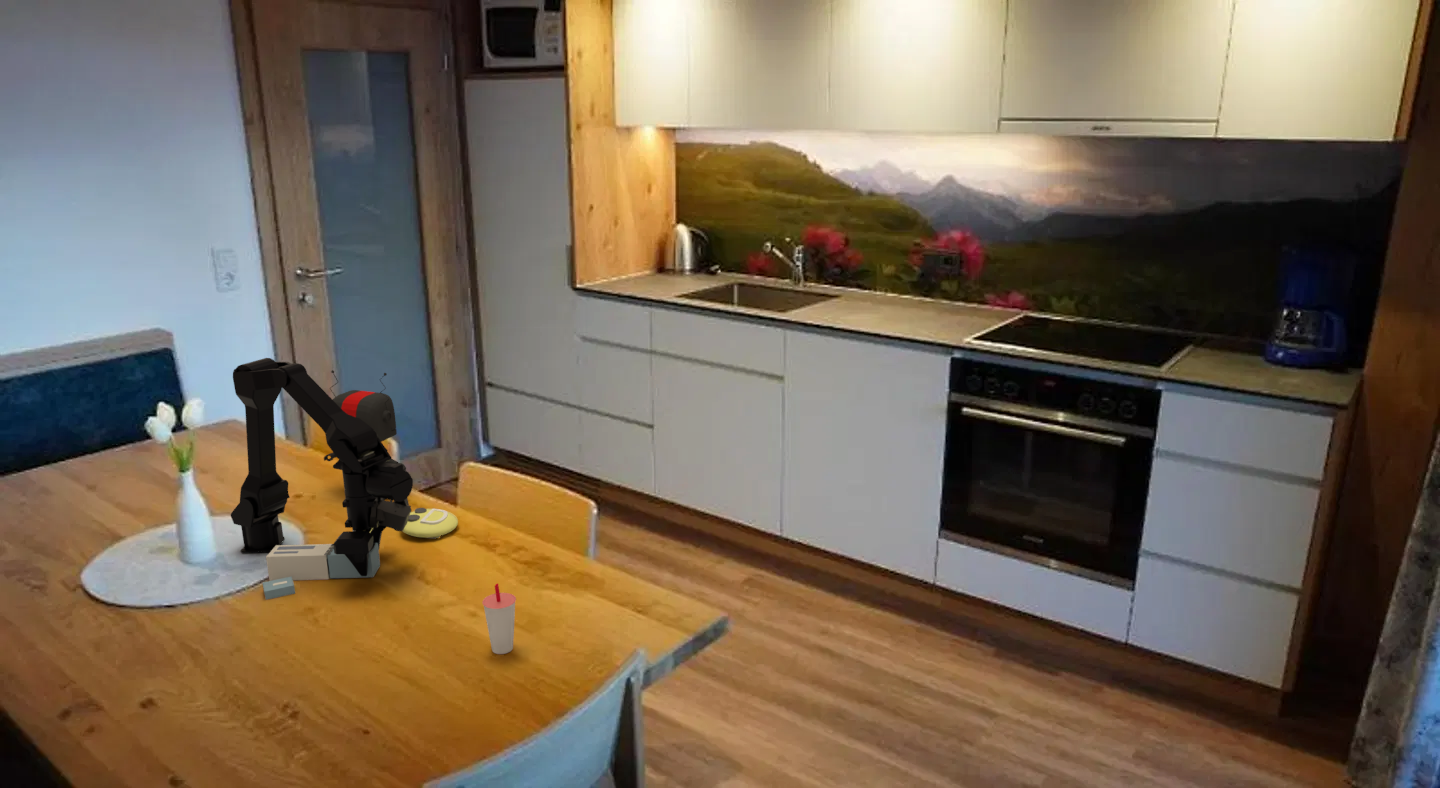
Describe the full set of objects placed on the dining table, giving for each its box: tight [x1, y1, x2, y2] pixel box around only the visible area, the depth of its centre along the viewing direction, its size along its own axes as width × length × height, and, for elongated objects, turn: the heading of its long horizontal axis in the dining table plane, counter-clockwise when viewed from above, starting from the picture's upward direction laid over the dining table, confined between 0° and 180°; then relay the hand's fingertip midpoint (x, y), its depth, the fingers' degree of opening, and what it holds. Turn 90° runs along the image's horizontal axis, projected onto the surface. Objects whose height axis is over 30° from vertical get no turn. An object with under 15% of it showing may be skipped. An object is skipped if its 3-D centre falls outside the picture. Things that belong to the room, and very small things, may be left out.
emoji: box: [402, 507, 459, 539], centre depth 205 cm, size 4×12×12 cm
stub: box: [327, 543, 381, 579], centre depth 186 cm, size 8×5×5 cm, turn 93°
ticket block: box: [265, 543, 334, 581], centre depth 186 cm, size 11×5×5 cm, turn 93°
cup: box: [482, 583, 517, 655], centre depth 159 cm, size 5×5×12 cm
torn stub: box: [262, 576, 296, 600], centre depth 180 cm, size 5×4×2 cm
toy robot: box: [323, 370, 407, 501], centre depth 220 cm, size 22×9×30 cm, turn 71°
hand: (369, 567), depth 187 cm, fingers open, 7 cm apart
